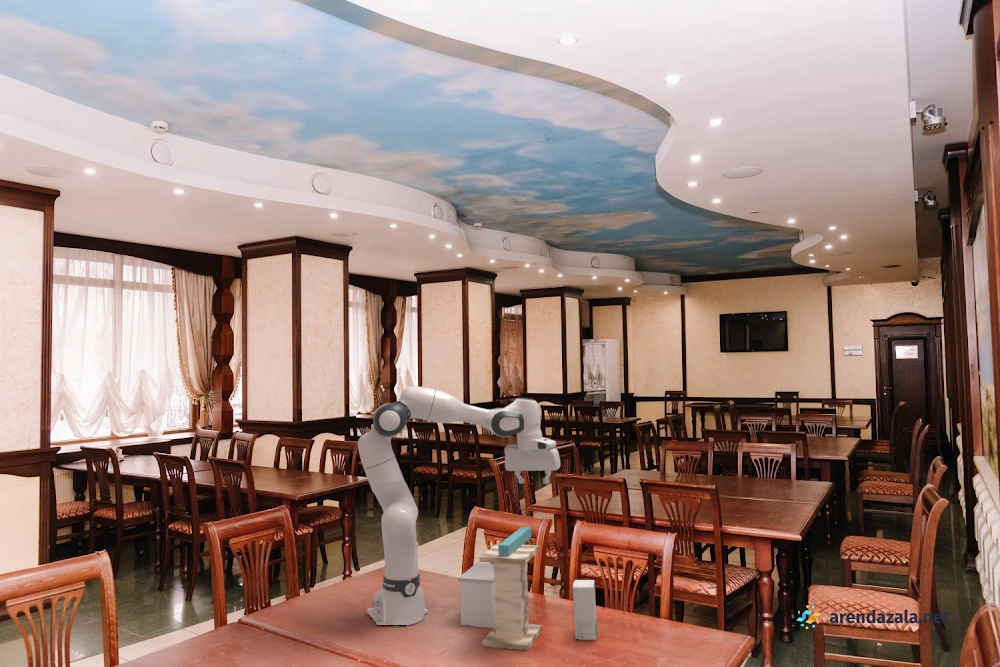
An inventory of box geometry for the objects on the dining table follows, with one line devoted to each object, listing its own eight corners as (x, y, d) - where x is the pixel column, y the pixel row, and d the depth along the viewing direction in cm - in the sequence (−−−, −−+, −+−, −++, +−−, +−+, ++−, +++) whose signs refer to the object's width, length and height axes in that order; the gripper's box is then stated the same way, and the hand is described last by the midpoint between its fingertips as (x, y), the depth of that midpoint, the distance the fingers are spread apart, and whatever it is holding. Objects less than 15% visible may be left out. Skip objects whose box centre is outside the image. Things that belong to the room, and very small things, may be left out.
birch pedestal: (499, 626, 211) (496, 543, 213) (542, 630, 207) (538, 545, 208) (482, 646, 196) (479, 556, 198) (527, 650, 192) (524, 559, 193)
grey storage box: (477, 607, 229) (476, 563, 230) (510, 610, 225) (508, 565, 226) (459, 625, 213) (458, 577, 214) (493, 628, 209) (492, 580, 210)
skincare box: (595, 641, 197) (593, 587, 198) (573, 640, 198) (571, 587, 199) (597, 630, 205) (595, 579, 206) (576, 629, 206) (574, 578, 207)
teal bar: (522, 536, 221) (521, 526, 221) (531, 537, 220) (530, 527, 220) (498, 556, 198) (498, 545, 198) (508, 556, 197) (508, 545, 197)
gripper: (500, 445, 234) (503, 485, 234) (553, 444, 225) (556, 485, 224) (508, 443, 240) (511, 481, 239) (560, 441, 231) (563, 481, 230)
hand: (533, 483), depth 232 cm, fingers open, 8 cm apart
